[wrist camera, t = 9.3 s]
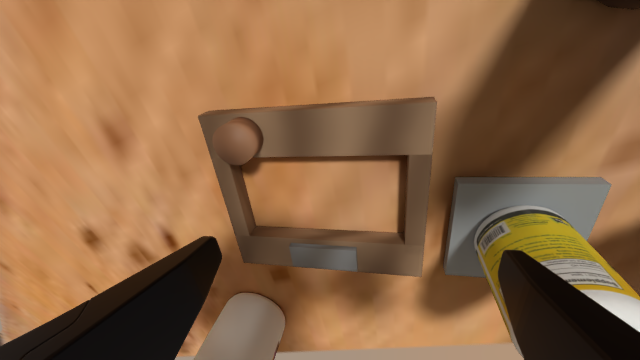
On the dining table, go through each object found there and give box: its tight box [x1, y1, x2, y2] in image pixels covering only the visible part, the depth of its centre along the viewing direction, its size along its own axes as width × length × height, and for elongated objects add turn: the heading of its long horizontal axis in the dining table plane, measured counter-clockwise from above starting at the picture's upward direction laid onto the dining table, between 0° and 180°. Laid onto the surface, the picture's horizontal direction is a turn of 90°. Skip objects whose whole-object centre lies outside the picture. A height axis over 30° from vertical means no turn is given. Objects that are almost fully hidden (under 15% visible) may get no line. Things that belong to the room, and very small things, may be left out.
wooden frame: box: [198, 97, 437, 277], centre depth 22 cm, size 17×15×4 cm
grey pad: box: [443, 177, 612, 278], centre depth 21 cm, size 9×9×1 cm
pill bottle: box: [474, 205, 640, 357], centre depth 16 cm, size 6×6×11 cm
